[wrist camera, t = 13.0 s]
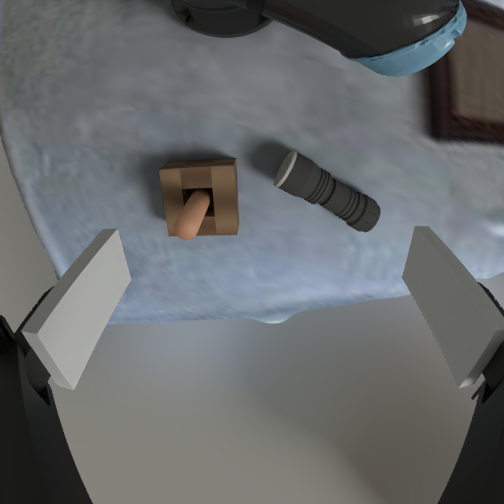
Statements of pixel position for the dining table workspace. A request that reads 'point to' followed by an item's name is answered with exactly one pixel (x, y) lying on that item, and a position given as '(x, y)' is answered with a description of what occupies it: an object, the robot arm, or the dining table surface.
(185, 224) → the peg
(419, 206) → the dining table surface
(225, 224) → the socket block
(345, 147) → the dining table surface
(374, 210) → the flashlight
